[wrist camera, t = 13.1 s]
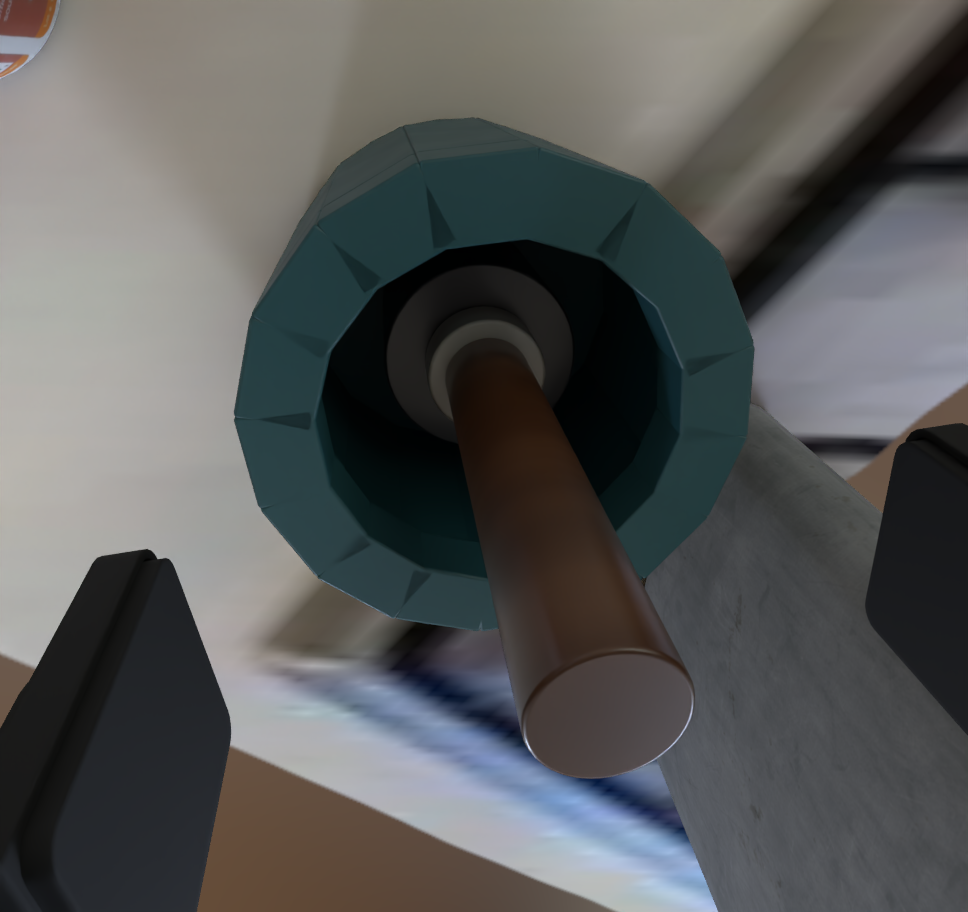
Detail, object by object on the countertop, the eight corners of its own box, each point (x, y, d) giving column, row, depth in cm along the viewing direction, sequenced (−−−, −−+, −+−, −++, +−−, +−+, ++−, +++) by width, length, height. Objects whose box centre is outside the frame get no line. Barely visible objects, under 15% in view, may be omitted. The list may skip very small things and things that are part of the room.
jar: (256, 140, 21) (167, 190, 12) (611, 99, 21) (774, 118, 13) (327, 458, 26) (301, 662, 17) (616, 417, 26) (736, 591, 17)
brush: (370, 235, 22) (355, 579, 7) (532, 215, 22) (845, 503, 7) (395, 387, 24) (425, 888, 9) (542, 366, 24) (795, 820, 10)
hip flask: (696, 721, 34) (1039, 1420, 16) (611, 726, 33) (871, 1455, 16) (783, 402, 27) (1557, 1034, 9) (676, 401, 26) (1285, 1074, 9)
